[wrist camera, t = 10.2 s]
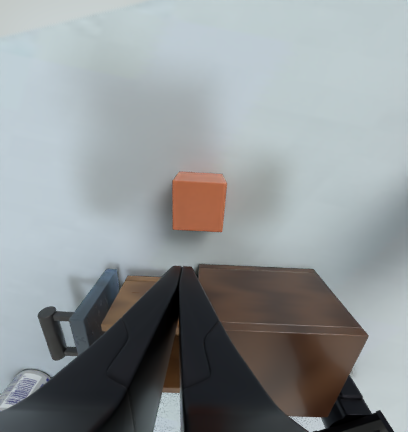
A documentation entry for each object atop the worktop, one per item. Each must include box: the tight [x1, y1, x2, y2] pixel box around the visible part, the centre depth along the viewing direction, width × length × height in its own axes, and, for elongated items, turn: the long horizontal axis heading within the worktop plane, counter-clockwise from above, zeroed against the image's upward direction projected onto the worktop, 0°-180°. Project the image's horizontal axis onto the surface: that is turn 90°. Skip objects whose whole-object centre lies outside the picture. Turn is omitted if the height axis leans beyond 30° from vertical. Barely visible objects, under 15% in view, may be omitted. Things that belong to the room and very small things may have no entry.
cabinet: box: [198, 264, 369, 417], centre depth 21 cm, size 13×11×8 cm
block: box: [172, 172, 227, 232], centre depth 18 cm, size 4×4×4 cm
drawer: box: [38, 269, 180, 393], centre depth 21 cm, size 17×10×7 cm, turn 87°
